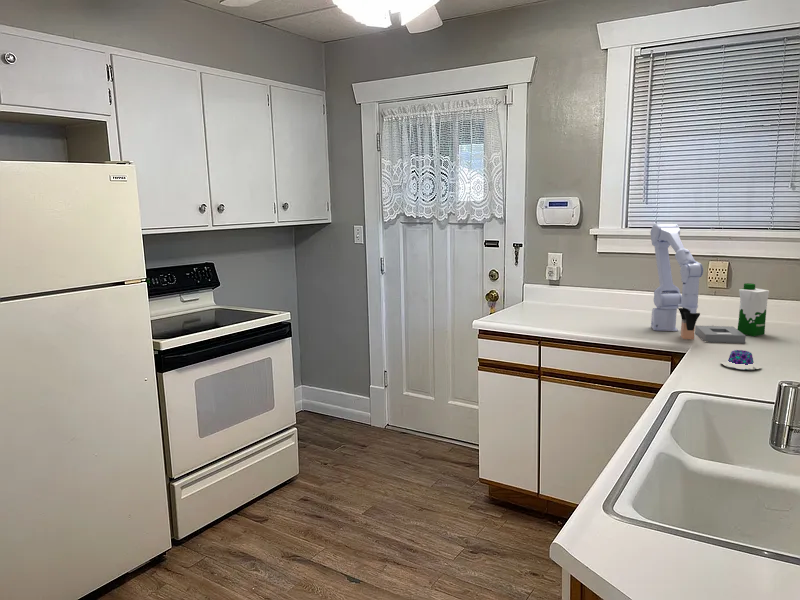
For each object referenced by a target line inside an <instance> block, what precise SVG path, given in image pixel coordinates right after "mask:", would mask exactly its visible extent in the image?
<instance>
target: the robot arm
mask: <svg viewBox="0 0 800 600" xmlns="http://www.w3.org/2000/svg"><path fill="white" fill-rule="evenodd" d="M649 233H650V240H651V246H653V247H654V253H655V260H656V261H655V263H656V267H657V275H658V282H659V283H658V284H659V286H658V287H657V288H656V289H655V290H654V291H653V296H654V297H653V304H654V306H655V307H654V308H652V310H651V319H650V322H651V323H650V327H651V328H652V330H653V331H659V332H660V331H665V332H666V331H667V332H672V331H673V332H679V329H678V328H677V327H676V326H677V313H678V312H679V314H680V317H681V320H682V319H683V320H686V325H687V330H694V327H695V325H696V324H697V320H698V319H699V317H700V316H701V313H700V312H697V309H699V305H698V303H699V287H700V278H701V277H703V275H704V267H703V264H702V263H701V262H698V260H697V261H696V260H695V258H694V257H693V255H692V253H691V251H690V250H689V249H688V248H685V246H684V244H683V242H682V240H681V237H680V235H681V229H680V226H679V225H678V224H677V223H671V224H670V223H663V224H662V223H661V224H660V223H655V224H653V225H652V227H651V229H650V231H649ZM670 246H671V247H672V248H671V249H673V251H674V253H675V254H674V257H675V260H676V262H677V264H678V265H679V267H680V270H679V273H680V278H681V279H680V280H681V283H682V286H681V287H682V288H681V290H682V291H681V290H680V288H679V287H678V286H677V285H675V284H674V280H673V274H672V268H671V267H672V266H671V261H670V252H669V247H670Z"/></svg>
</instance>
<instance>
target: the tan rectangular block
mask: <svg viewBox="0 0 800 600" xmlns="http://www.w3.org/2000/svg"><path fill="white" fill-rule="evenodd" d="M680 324H681V325H680V338H681V337H682V338H683V339H682V338H681V339H682V340H694V339H695V327H694V330H687V325H686V320H683V319H682V318H681V323H680Z"/></svg>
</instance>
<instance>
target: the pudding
mask: <svg viewBox="0 0 800 600" xmlns="http://www.w3.org/2000/svg"><path fill="white" fill-rule="evenodd" d="M727 360H728V361H729V362H732V363H735V364H745V365H748V364H753V363H755V362H754V358H753V354H752V352H750V351H748V350H742V349H734V350H731V351H730V355H729V357H728V359H727Z"/></svg>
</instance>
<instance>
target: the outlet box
mask: <svg viewBox="0 0 800 600" xmlns="http://www.w3.org/2000/svg"><path fill="white" fill-rule="evenodd" d="M737 329H738V328H735V327H734V326H729V325H728V326H726V325H721V326H720V325H696V324H695V331H694V334H695V335H697V336H698V337H699V338H700V339H701V338H702V339H703V340H704V341H708V342H707V343H719V342H726V343H727V344H746V339H747V338H746V337H747V335H744V334H743V333H741V332H740V331H739V330H737ZM702 339H701V340H702ZM703 340H702V341H703ZM704 341H703V342H704Z"/></svg>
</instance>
